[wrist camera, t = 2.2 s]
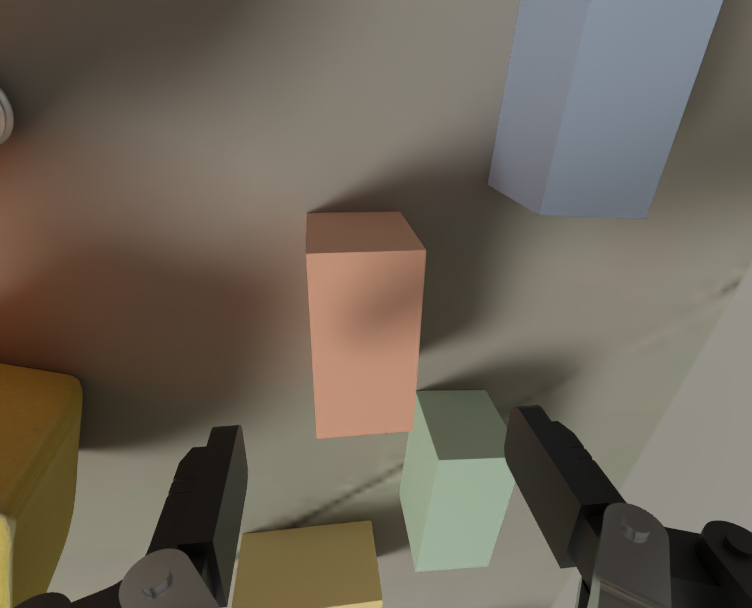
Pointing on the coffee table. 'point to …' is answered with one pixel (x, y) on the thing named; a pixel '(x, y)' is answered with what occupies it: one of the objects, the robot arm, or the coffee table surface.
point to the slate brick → (596, 102)
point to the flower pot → (35, 476)
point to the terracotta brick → (364, 320)
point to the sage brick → (454, 480)
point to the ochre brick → (309, 568)
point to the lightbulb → (5, 117)
